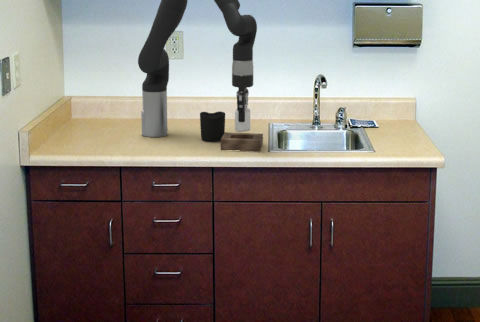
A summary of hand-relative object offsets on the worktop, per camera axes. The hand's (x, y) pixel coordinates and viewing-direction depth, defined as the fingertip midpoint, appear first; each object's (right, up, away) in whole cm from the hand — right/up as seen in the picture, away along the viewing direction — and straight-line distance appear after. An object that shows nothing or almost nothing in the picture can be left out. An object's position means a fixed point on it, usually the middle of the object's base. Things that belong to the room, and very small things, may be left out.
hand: (242, 120), depth 277 cm
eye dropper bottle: (0, -4, +1) cm, 4 cm away
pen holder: (-11, -7, +14) cm, 19 cm away
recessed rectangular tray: (0, -10, +3) cm, 10 cm away
